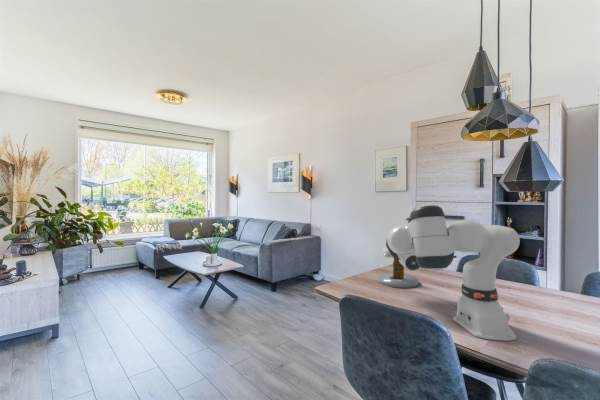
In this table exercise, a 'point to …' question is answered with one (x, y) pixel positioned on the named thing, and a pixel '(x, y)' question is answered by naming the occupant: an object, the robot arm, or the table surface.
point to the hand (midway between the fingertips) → (399, 249)
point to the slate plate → (404, 283)
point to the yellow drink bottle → (398, 271)
